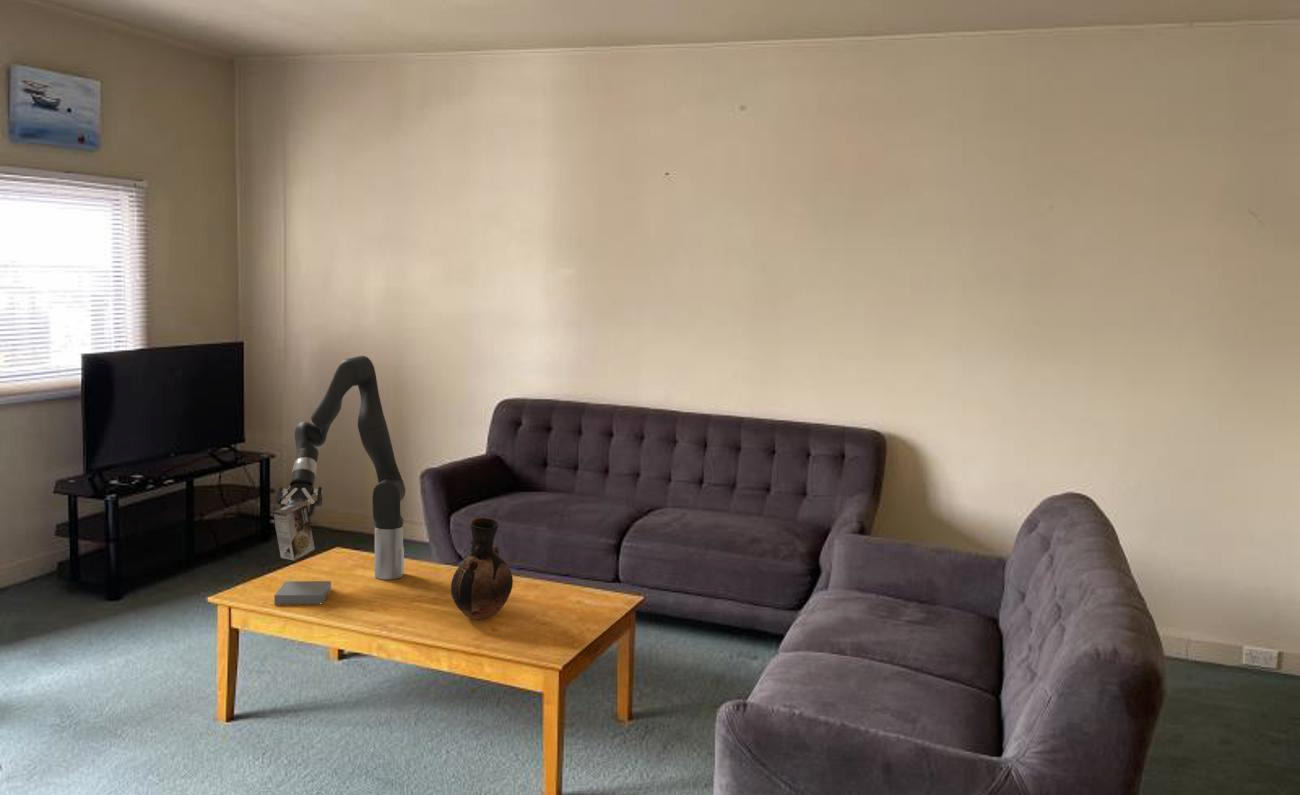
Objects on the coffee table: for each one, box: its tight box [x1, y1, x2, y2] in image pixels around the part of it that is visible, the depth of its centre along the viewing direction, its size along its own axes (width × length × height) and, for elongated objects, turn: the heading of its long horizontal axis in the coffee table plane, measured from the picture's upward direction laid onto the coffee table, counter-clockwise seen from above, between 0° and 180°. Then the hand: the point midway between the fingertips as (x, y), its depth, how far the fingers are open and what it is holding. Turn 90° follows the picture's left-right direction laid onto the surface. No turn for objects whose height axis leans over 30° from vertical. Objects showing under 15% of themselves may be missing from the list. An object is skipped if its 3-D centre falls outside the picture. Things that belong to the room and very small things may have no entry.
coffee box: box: [272, 501, 316, 561], centre depth 313 cm, size 9×6×16 cm
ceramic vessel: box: [450, 517, 514, 621], centre depth 290 cm, size 21×18×30 cm
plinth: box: [273, 580, 332, 605], centre depth 304 cm, size 14×14×3 cm
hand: (296, 516), depth 314 cm, fingers closed on coffee box, 8 cm apart
